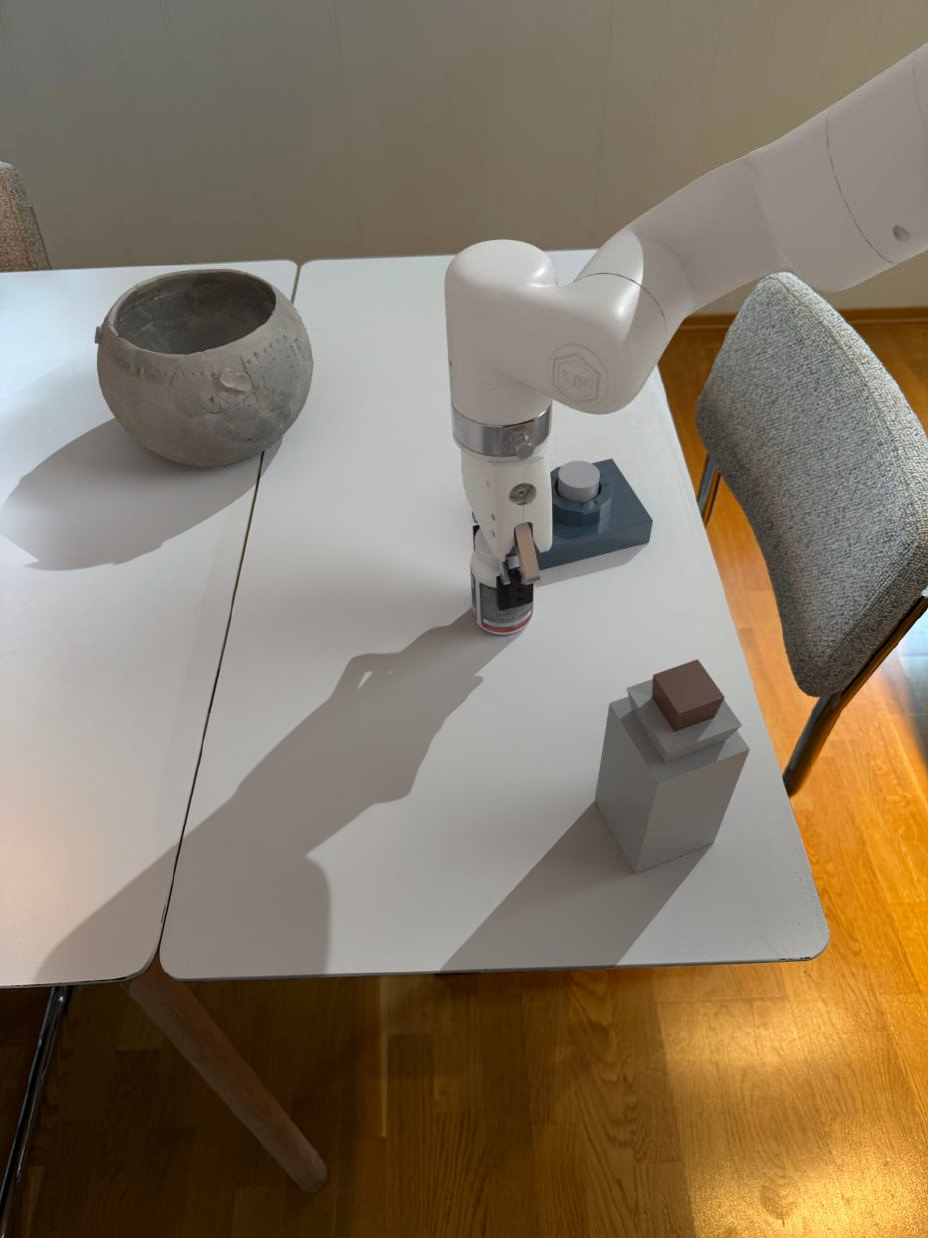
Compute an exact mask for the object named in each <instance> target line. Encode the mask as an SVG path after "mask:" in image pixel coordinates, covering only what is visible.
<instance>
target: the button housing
mask: <svg viewBox="0 0 928 1238" xmlns="http://www.w3.org/2000/svg"><path fill="white" fill-rule="evenodd" d="M590 463H591V464H593V465H594V466H596V467H597V469H598V470H599V473H600V479H599V489H598V494H597V496H596V497H595V498H594V499H593V500H591V501H587V502H583V503H578V502H570V501H567V500H565V499H564V498H562V497H561V496H560V495H559V493H558V489H557V488H558V473H559V470H560V468H561V467H562V466H563V465H560V466H556V467H555V468H554V469H553V470H550V477H551V492H552V545H551V548H550V549H549V550H548V551H545V552H541V553H540V551H539V549H538V548H537V546H536V544H535V542H534V541H533V544H534V549H535V553H536V558H537V562H538V567H539V571H543V570H546V569H550V568H553V567H557V566H562V565H565V564H569V563H572V562H573V563H574V562H577V561H581V560H584V559H589V558H592V557H596V556H601V555H605V554H608V553H612V552H616V551H620V550H623V549H628V548H632V547H635V546H639V545H644V544H647V543H650V540H651V535H652V529H653V524H654V520H653V518H652V517H651V515H650V513H649V512H648V510H647V509H646V507H645V505H643V503H642V502H641V500H640V498H639V497H638V495H637V494H636V492H635V491H634V489H633V487H632V486H631V485H630V483H629V481H628V480H627V479H626V477H625V476H624V474H623V472H622V471H621V469H620V467H618V465H617V463H616V462H615V460H614V458H608V459H603V460H599V461H595V462H590ZM532 540H533V539H532Z"/></svg>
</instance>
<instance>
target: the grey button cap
mask: <svg viewBox="0 0 928 1238" xmlns="http://www.w3.org/2000/svg"><path fill="white" fill-rule="evenodd" d="M591 463H592V462H588V461H585V460H572V461H568V462H566V463H564V464H562V465H561V466H562V467H561V468H560V470H559V473H558V488H557V489H558V493H559V495H560V496H561V497H562V498H564V499H565V500H567V501H570V502H578V503H583V502H587V501H591V500H593V499H594V498H595V497H596V496H597V494H598V489H599V479H600V473H599V470H598V469H597V467H596V466H594V465H593V464H591Z"/></svg>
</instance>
